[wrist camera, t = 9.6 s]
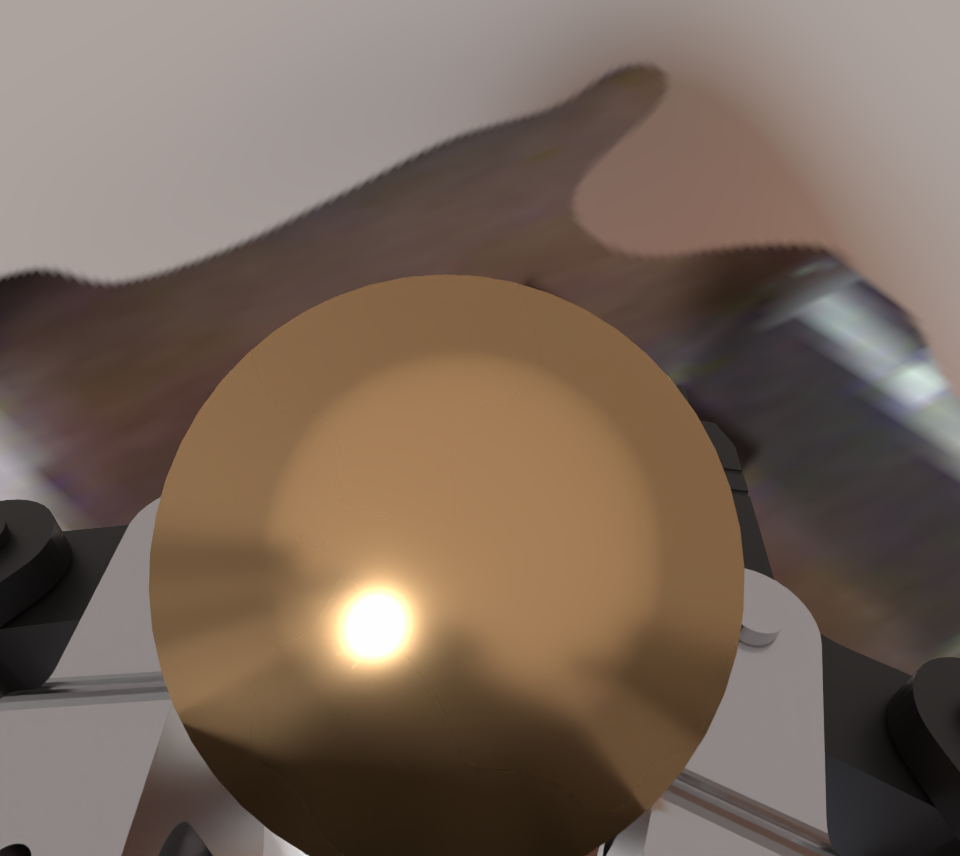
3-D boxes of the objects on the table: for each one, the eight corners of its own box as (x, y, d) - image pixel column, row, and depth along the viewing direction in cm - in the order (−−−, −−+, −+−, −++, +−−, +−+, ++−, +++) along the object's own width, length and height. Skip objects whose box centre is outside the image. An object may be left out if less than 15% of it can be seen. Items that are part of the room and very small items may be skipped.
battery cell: (385, 534, 14) (36, 602, 4) (488, 405, 14) (396, 170, 4) (515, 645, 13) (481, 1041, 3) (620, 509, 14) (873, 513, 4)
